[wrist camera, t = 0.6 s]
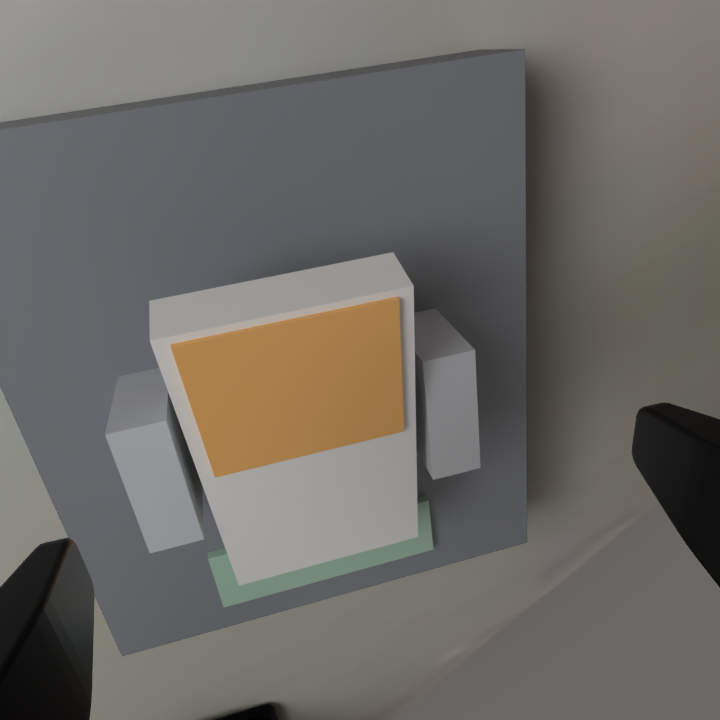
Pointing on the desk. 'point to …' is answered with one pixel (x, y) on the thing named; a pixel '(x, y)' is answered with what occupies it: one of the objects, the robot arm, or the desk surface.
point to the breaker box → (255, 261)
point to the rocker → (298, 410)
